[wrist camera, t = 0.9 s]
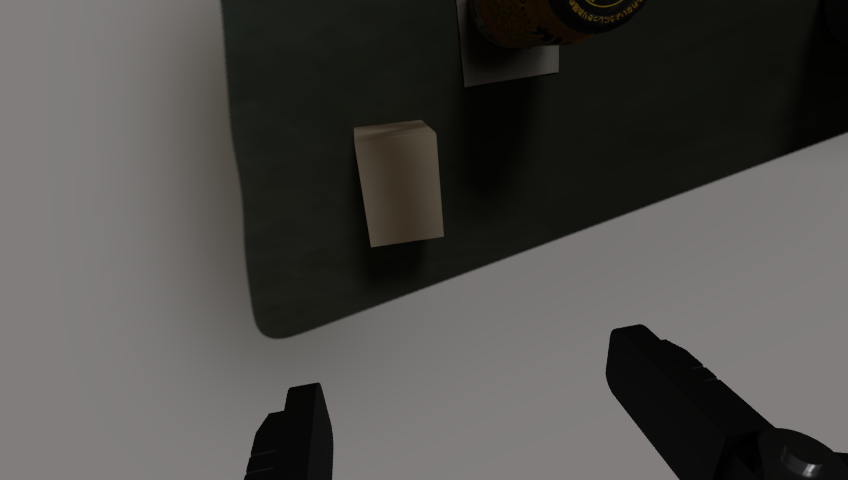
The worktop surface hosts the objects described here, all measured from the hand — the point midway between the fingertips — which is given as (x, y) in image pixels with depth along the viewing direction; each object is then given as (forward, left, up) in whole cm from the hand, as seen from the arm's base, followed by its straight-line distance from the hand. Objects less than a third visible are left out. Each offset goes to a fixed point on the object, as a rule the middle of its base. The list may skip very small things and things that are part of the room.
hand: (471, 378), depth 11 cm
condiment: (-9, -10, -23) cm, 27 cm away
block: (0, 0, -23) cm, 23 cm away
